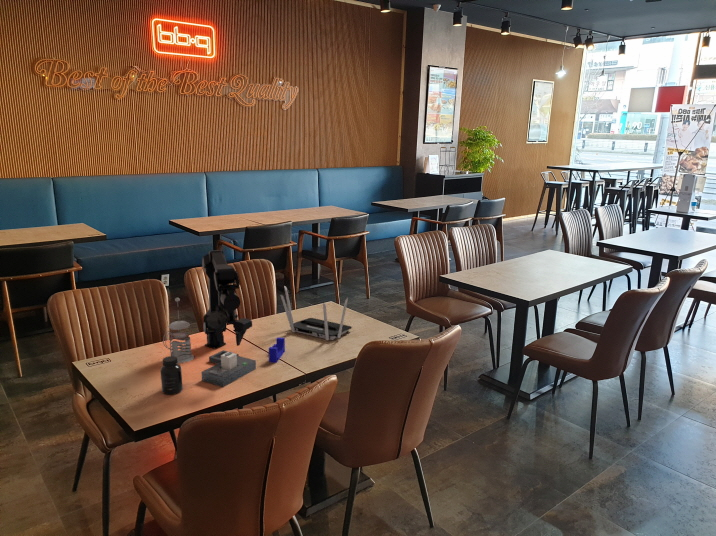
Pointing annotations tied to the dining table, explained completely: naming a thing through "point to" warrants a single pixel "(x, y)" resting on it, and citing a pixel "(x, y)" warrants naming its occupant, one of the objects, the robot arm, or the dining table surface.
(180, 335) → the french press
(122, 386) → the dining table surface
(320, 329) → the wireless router
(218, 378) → the port panel
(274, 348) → the cable clip
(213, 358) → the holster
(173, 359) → the supplement bottle
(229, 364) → the plug
